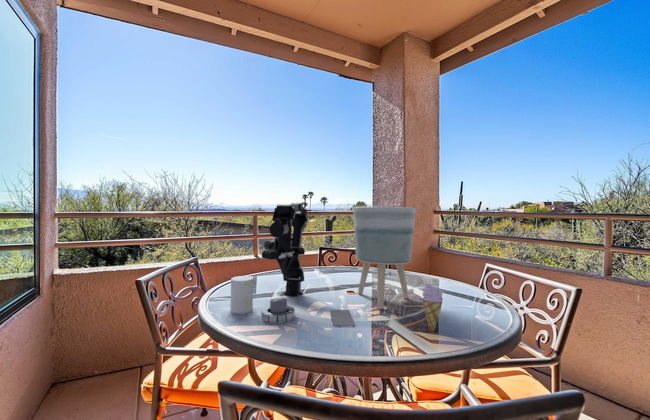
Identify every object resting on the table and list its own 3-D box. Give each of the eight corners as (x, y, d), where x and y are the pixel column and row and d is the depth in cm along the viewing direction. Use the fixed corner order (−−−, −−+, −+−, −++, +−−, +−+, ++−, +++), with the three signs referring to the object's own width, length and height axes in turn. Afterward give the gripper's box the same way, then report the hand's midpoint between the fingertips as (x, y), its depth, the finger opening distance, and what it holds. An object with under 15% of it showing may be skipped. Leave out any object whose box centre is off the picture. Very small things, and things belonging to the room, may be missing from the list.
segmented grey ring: (279, 309, 110) (279, 302, 110) (300, 316, 103) (301, 309, 103) (254, 317, 101) (255, 310, 101) (276, 326, 94) (277, 318, 94)
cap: (278, 312, 106) (279, 295, 106) (290, 316, 103) (290, 298, 103) (266, 317, 102) (266, 298, 102) (277, 321, 98) (278, 302, 98)
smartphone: (332, 325, 94) (329, 309, 109) (332, 328, 94) (329, 311, 109) (355, 325, 95) (349, 309, 110) (355, 328, 95) (349, 312, 110)
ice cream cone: (418, 326, 96) (419, 281, 96) (435, 325, 97) (436, 281, 97) (426, 334, 90) (427, 286, 90) (445, 334, 90) (446, 286, 90)
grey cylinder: (246, 314, 104) (247, 281, 104) (226, 312, 106) (226, 280, 106) (256, 307, 112) (256, 276, 112) (237, 305, 114) (237, 275, 114)
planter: (418, 297, 130) (420, 208, 130) (406, 315, 106) (408, 207, 106) (363, 288, 142) (364, 207, 142) (341, 303, 118) (343, 206, 119)
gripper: (287, 233, 127) (286, 268, 127) (253, 235, 113) (252, 274, 113) (305, 234, 120) (305, 271, 120) (271, 237, 106) (271, 279, 106)
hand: (283, 274), depth 115 cm, fingers closed
